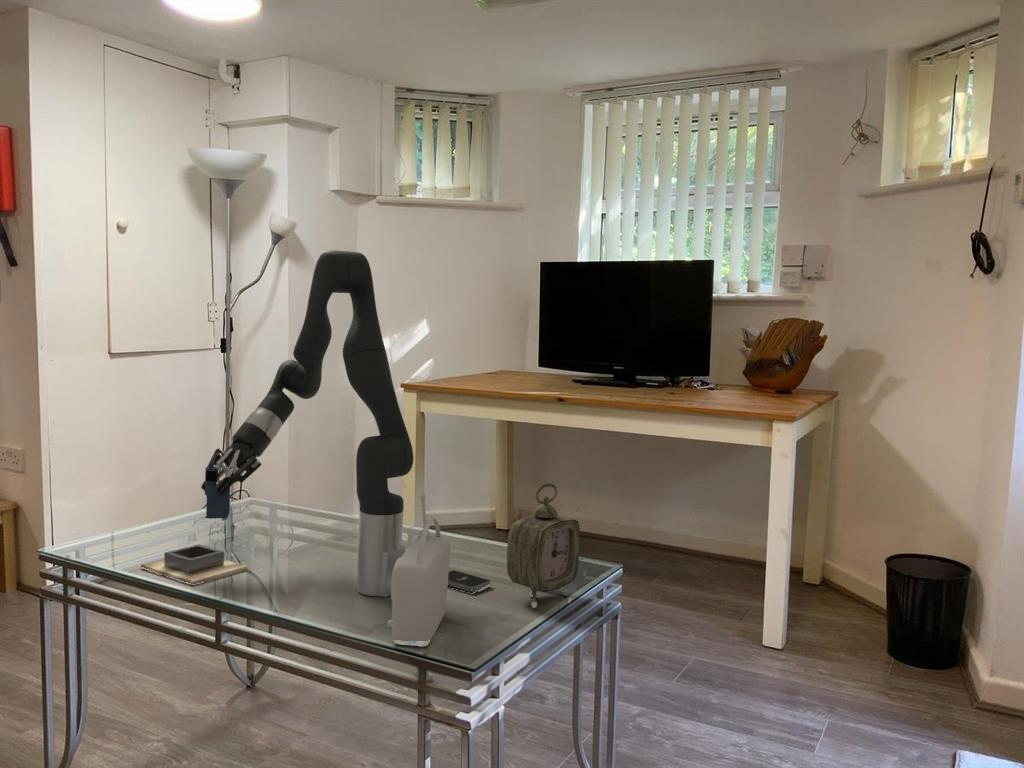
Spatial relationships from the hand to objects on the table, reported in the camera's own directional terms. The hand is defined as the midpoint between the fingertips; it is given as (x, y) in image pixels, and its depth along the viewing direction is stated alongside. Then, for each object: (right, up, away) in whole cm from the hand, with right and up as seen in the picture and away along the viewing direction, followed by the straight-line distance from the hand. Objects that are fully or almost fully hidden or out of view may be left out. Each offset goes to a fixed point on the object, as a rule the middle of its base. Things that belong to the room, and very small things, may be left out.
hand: (211, 491), depth 173 cm
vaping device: (0, -6, +2) cm, 6 cm away
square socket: (-6, -18, +4) cm, 19 cm away
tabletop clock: (+71, -22, -4) cm, 75 cm away
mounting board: (-6, -18, +4) cm, 19 cm away
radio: (+47, -23, -24) cm, 58 cm away
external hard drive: (+54, -22, +3) cm, 59 cm away
